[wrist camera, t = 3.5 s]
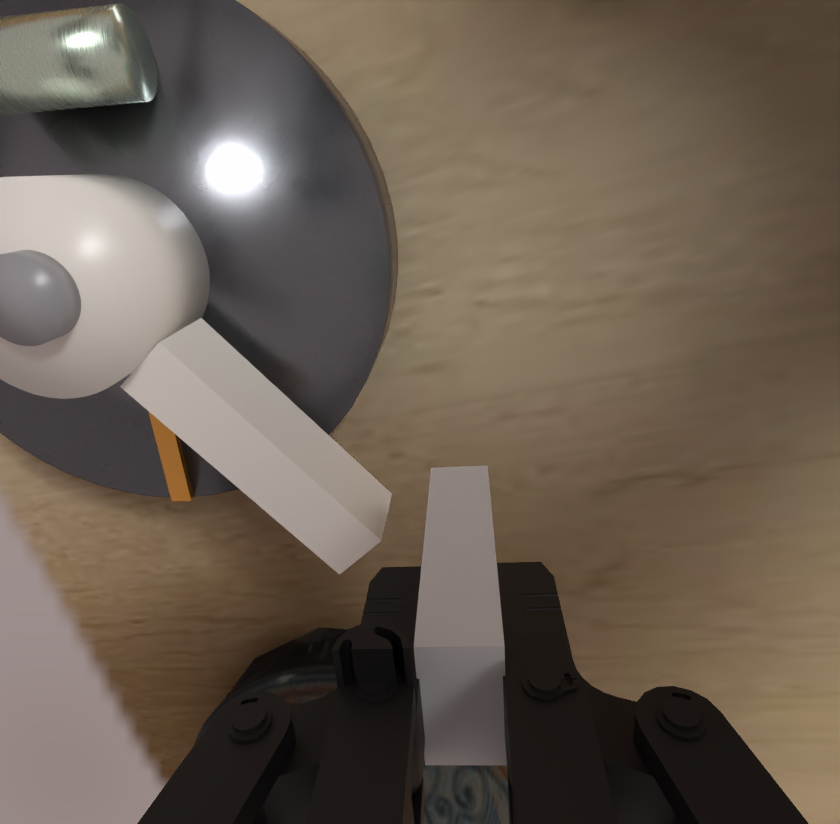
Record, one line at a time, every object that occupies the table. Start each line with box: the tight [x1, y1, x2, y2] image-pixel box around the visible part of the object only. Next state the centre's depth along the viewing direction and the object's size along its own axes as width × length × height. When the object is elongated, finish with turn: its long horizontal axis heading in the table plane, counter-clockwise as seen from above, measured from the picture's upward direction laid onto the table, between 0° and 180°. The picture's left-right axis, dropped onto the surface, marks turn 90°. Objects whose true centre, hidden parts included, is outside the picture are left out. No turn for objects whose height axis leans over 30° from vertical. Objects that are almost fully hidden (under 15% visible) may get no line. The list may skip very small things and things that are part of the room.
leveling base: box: [0, 0, 398, 501], centre depth 21 cm, size 18×18×5 cm
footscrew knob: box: [0, 174, 392, 575], centre depth 19 cm, size 15×6×5 cm, turn 44°
